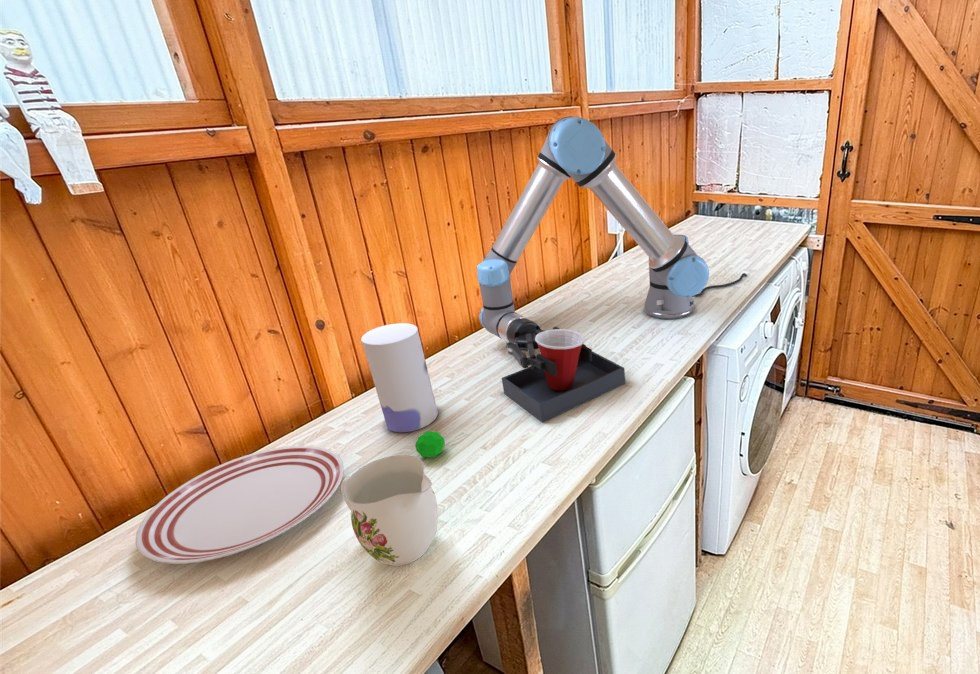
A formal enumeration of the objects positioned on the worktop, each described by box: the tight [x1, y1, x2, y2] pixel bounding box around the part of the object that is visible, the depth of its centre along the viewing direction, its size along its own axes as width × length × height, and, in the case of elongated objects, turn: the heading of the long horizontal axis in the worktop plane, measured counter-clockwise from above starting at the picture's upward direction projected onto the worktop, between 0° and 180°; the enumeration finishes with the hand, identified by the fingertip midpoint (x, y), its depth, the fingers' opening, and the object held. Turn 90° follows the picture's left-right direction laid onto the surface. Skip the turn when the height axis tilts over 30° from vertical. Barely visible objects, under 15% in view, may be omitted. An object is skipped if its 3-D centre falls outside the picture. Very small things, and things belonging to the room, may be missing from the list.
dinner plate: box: [135, 445, 345, 565], centre depth 85 cm, size 28×27×3 cm
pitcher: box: [340, 454, 439, 567], centre depth 75 cm, size 11×18×14 cm, turn 68°
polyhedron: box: [414, 430, 446, 459], centre depth 97 cm, size 5×5×5 cm
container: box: [360, 322, 439, 433], centre depth 105 cm, size 10×10×20 cm
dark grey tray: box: [501, 350, 626, 423], centre depth 117 cm, size 22×16×4 cm
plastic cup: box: [535, 328, 586, 390], centre depth 115 cm, size 11×11×12 cm
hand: (573, 362), depth 111 cm, fingers closed on plastic cup, 9 cm apart
